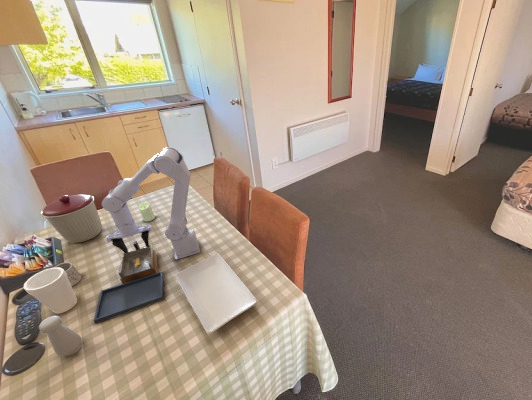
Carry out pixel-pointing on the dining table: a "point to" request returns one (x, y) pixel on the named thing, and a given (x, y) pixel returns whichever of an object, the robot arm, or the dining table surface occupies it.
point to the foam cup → (52, 289)
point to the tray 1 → (129, 296)
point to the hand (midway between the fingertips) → (137, 249)
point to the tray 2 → (214, 292)
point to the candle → (146, 211)
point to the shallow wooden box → (142, 274)
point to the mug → (70, 272)
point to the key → (137, 262)
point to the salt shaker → (61, 336)
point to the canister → (74, 217)
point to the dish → (130, 260)
